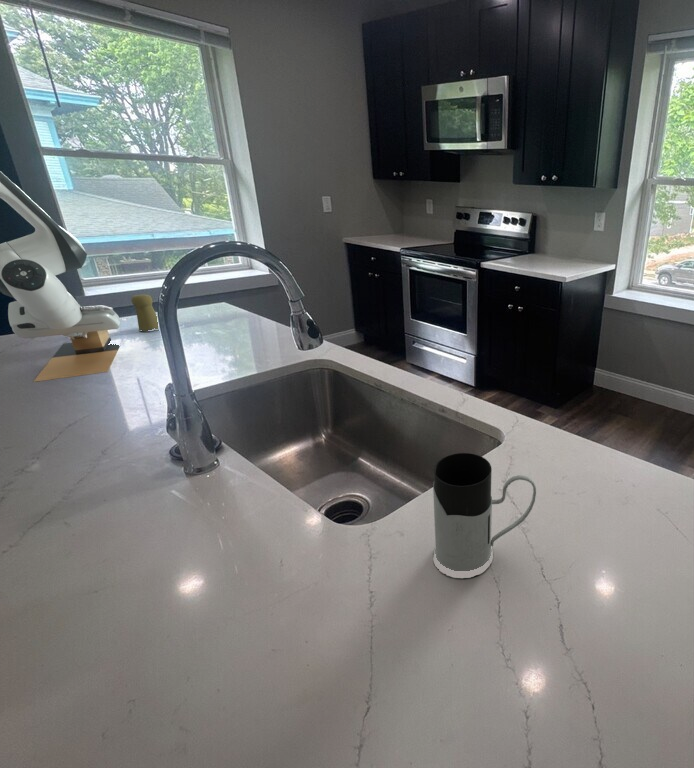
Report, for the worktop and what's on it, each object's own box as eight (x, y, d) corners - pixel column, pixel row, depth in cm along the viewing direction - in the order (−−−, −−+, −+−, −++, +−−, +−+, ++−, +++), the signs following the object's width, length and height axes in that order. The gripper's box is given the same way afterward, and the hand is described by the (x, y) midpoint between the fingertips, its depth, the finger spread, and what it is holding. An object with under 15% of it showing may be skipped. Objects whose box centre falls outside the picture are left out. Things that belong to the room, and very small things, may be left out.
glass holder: (435, 533, 71) (432, 450, 64) (528, 532, 72) (534, 450, 65) (429, 580, 63) (425, 490, 56) (534, 578, 64) (541, 489, 57)
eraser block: (76, 354, 127) (66, 328, 124) (84, 342, 135) (75, 317, 132) (104, 351, 130) (95, 325, 127) (111, 339, 138) (102, 315, 134)
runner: (33, 382, 111) (33, 381, 111) (63, 344, 134) (63, 343, 134) (107, 372, 118) (107, 371, 118) (124, 337, 140) (124, 336, 140)
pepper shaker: (134, 331, 145) (122, 296, 141) (150, 325, 151) (140, 291, 146) (151, 333, 145) (140, 298, 140) (167, 327, 150) (157, 293, 145)
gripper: (109, 295, 119) (126, 321, 131) (-1, 303, 110) (29, 331, 122) (112, 316, 118) (129, 341, 129) (0, 327, 108) (30, 352, 120)
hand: (80, 336), depth 125 cm, fingers closed, pressing on eraser block
